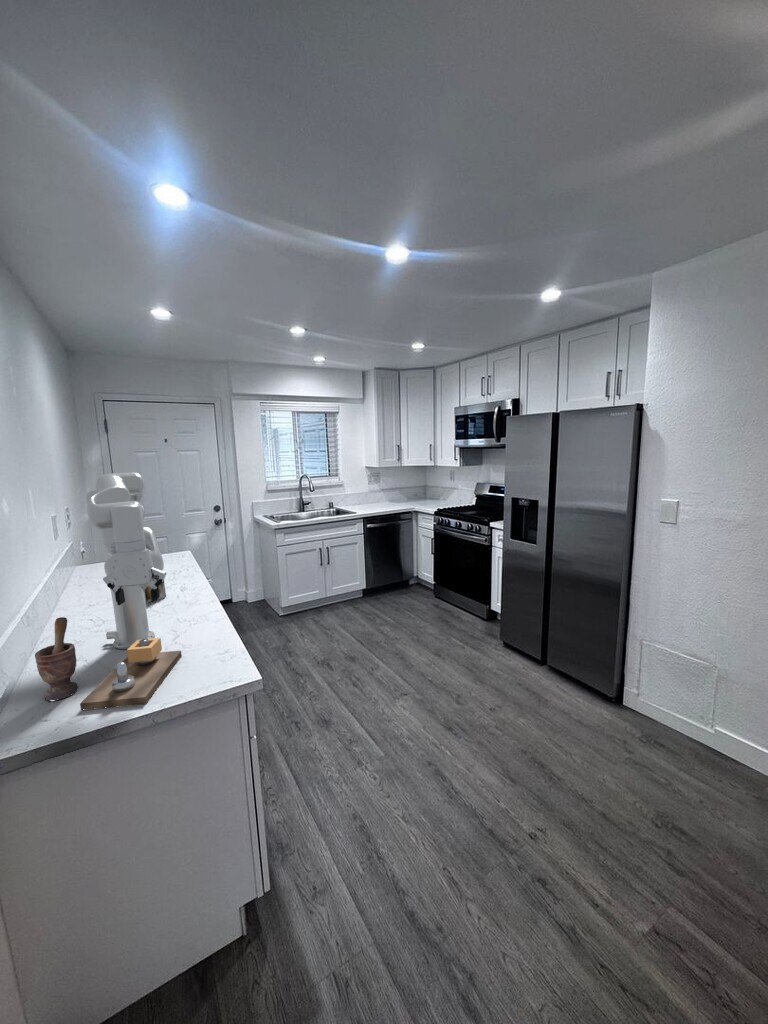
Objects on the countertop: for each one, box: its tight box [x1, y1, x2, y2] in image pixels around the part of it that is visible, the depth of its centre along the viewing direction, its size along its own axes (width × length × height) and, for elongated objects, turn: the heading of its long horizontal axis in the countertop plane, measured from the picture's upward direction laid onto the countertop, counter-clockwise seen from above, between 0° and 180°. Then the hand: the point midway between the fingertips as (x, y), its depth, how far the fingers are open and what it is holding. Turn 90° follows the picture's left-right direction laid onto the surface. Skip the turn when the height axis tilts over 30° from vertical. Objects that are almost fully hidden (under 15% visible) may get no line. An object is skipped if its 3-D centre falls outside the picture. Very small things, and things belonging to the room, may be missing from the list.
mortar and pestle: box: [34, 616, 79, 701], centre depth 117 cm, size 12×9×20 cm
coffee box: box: [139, 575, 167, 604], centre depth 191 cm, size 9×6×16 cm
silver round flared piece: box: [112, 661, 135, 693], centre depth 115 cm, size 5×5×7 cm
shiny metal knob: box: [137, 639, 156, 666], centre depth 129 cm, size 5×5×7 cm
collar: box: [126, 637, 163, 662], centre depth 129 cm, size 7×7×4 cm
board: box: [79, 650, 183, 711], centre depth 123 cm, size 16×26×2 cm, turn 6°
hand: (138, 602), depth 126 cm, fingers open, 9 cm apart
